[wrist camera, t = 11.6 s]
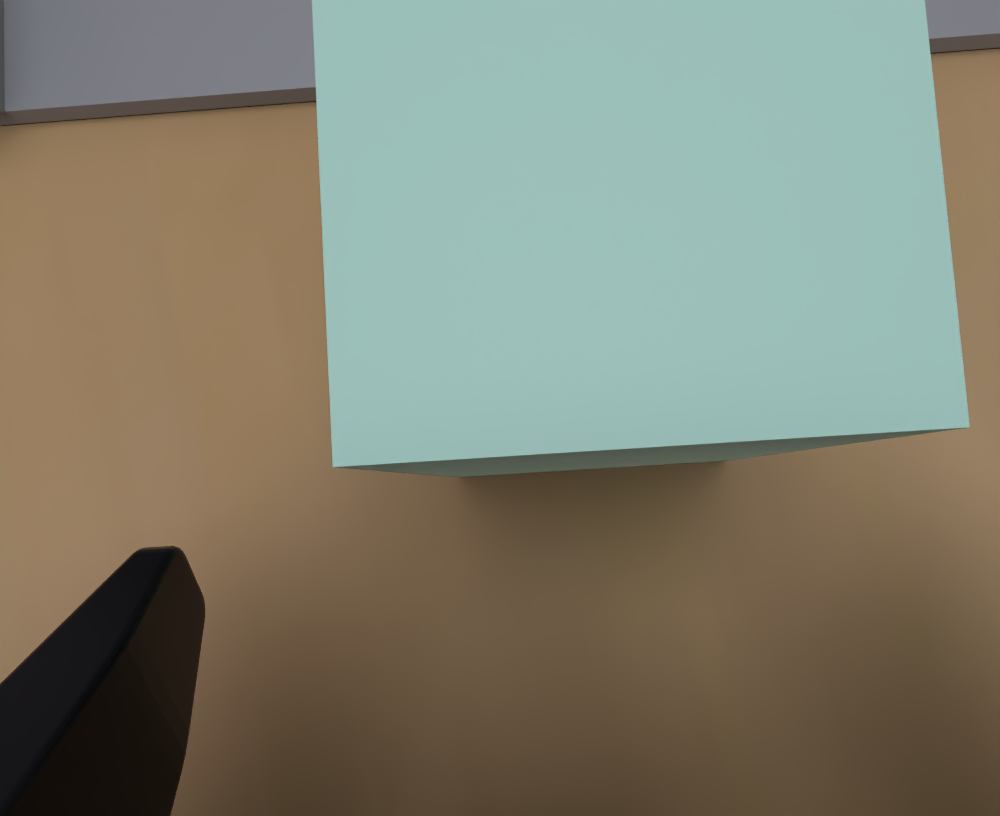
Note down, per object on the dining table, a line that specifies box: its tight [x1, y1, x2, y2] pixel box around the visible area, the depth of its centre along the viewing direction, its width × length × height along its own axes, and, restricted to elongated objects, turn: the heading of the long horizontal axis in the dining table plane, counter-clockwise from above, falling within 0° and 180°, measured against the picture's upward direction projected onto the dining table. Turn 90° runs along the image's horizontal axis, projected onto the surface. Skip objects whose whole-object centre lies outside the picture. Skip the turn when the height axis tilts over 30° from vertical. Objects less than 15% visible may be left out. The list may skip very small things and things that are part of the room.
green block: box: [312, 0, 970, 477], centre depth 12 cm, size 5×5×10 cm
